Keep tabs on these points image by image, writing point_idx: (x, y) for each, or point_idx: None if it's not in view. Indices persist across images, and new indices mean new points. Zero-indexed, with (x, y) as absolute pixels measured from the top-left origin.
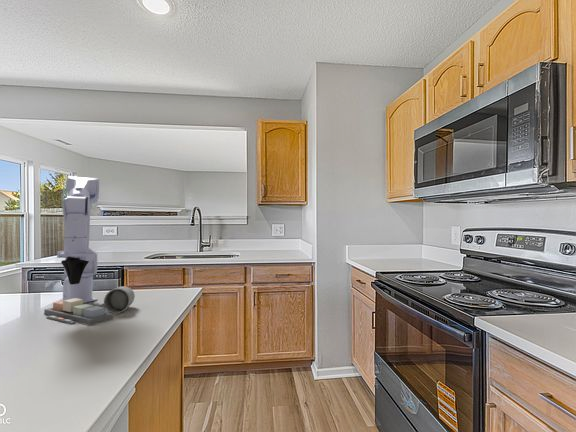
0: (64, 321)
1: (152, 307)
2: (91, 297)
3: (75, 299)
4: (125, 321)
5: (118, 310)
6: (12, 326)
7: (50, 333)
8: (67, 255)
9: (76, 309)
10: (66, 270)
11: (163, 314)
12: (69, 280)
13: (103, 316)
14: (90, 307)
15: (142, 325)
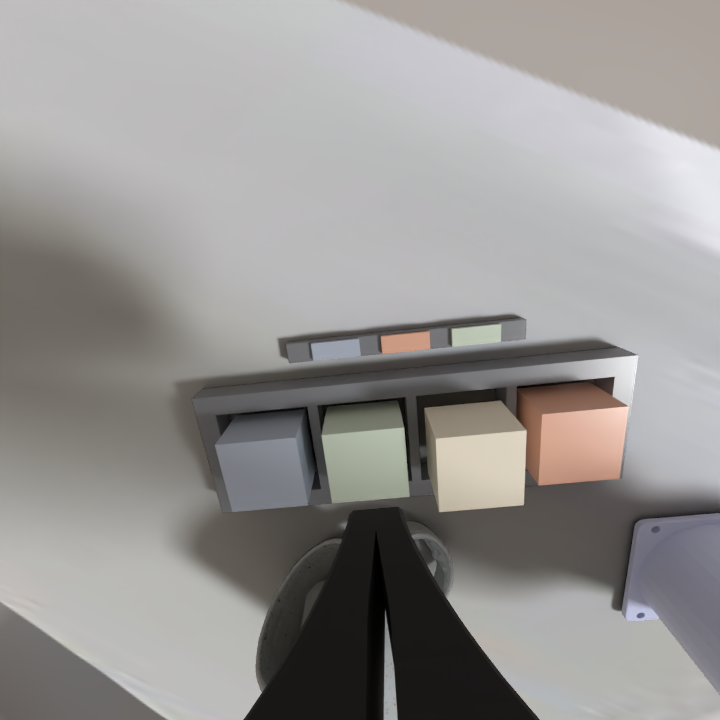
0: (348, 337)
1: None
2: (653, 609)
3: (483, 486)
4: (145, 504)
5: None
6: (522, 122)
7: (206, 204)
8: None
9: (368, 424)
10: (454, 648)
11: (134, 634)
12: (388, 530)
13: (210, 467)
14: (301, 474)
15: (31, 512)
